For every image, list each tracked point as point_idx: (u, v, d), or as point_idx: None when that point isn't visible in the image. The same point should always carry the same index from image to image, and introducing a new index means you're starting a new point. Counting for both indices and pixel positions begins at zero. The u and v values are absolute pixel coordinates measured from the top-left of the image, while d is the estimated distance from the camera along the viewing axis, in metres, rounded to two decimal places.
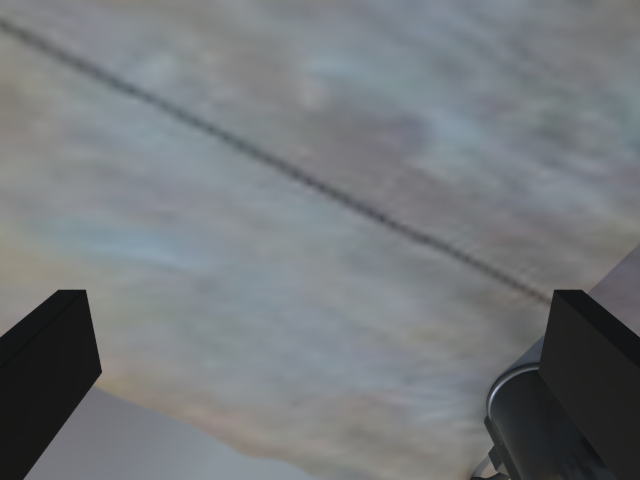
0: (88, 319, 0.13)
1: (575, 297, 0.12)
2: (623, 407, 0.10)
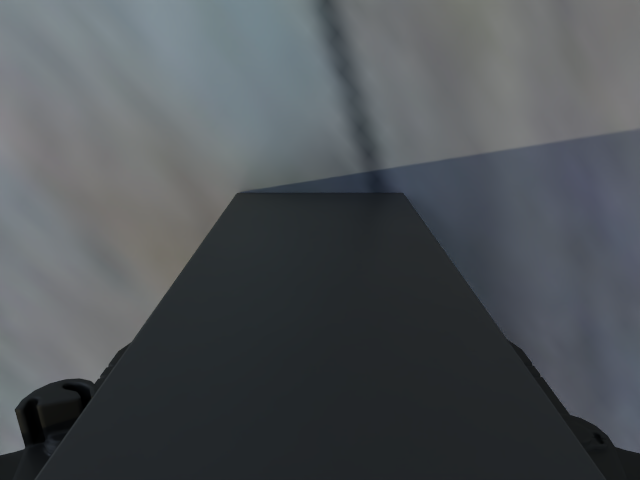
0: None
1: None
2: None
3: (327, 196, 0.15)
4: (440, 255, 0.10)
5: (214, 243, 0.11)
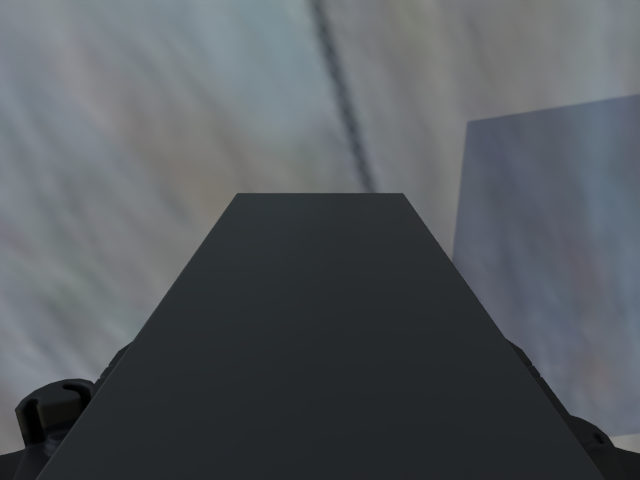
0: None
1: None
2: None
3: (327, 196, 0.15)
4: (440, 255, 0.10)
5: (214, 243, 0.11)
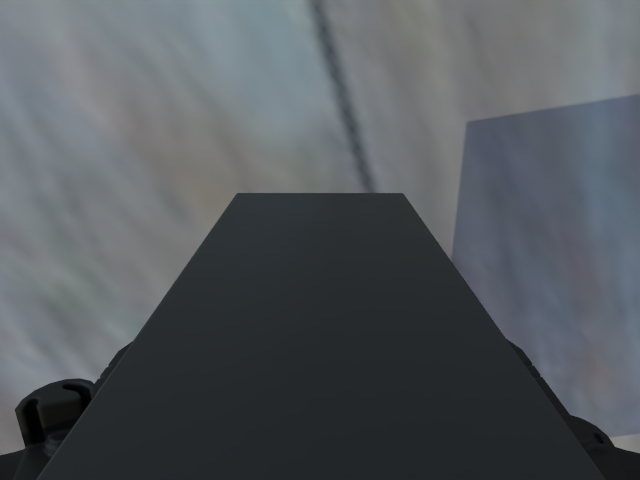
0: None
1: None
2: None
3: (327, 196, 0.15)
4: (440, 255, 0.10)
5: (214, 243, 0.11)
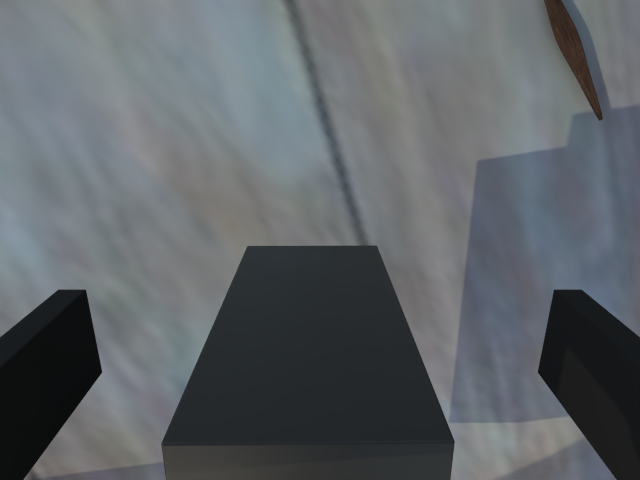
0: (88, 319, 0.13)
1: (575, 297, 0.12)
2: (623, 407, 0.10)
3: (317, 249, 0.20)
4: (394, 303, 0.15)
5: (236, 294, 0.15)
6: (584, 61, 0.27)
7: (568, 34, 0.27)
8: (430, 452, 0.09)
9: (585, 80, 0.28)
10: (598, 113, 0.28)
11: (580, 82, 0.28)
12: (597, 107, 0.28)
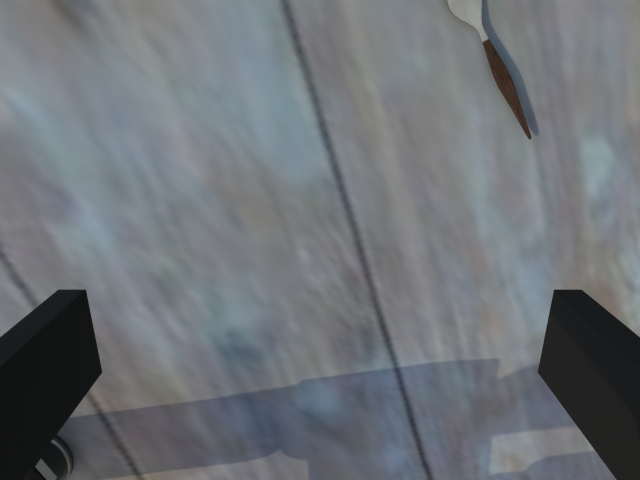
0: (88, 319, 0.13)
1: (575, 297, 0.12)
2: (623, 407, 0.10)
3: None
4: None
5: None
6: (516, 96, 0.37)
7: (503, 78, 0.37)
8: None
9: (517, 110, 0.38)
10: (527, 134, 0.38)
11: (514, 111, 0.38)
12: (527, 130, 0.38)
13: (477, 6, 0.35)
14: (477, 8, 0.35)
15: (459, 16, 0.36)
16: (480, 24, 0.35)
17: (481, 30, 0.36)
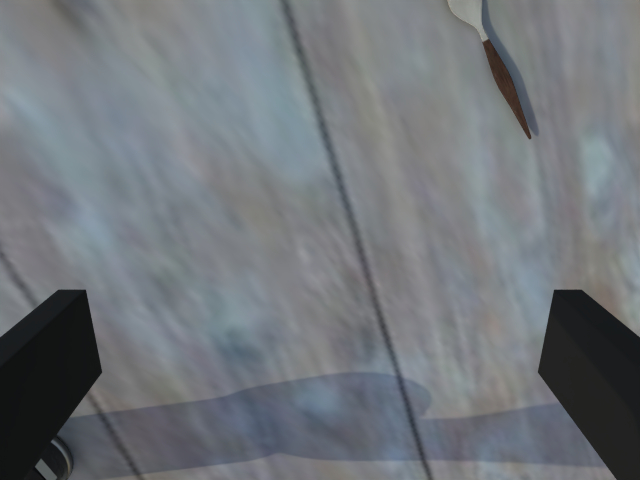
0: (88, 319, 0.13)
1: (575, 297, 0.12)
2: (623, 407, 0.10)
3: None
4: None
5: None
6: (516, 96, 0.37)
7: (503, 78, 0.37)
8: None
9: (517, 110, 0.38)
10: (527, 134, 0.38)
11: (514, 111, 0.38)
12: (527, 130, 0.38)
13: (477, 6, 0.35)
14: (477, 8, 0.35)
15: (459, 16, 0.36)
16: (480, 24, 0.35)
17: (481, 30, 0.36)
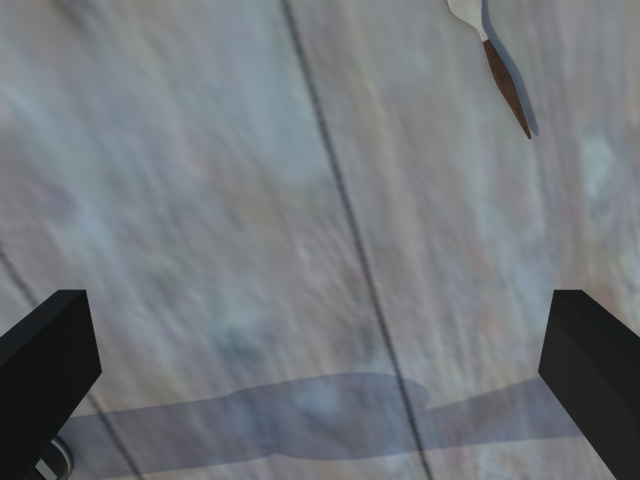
0: (88, 319, 0.13)
1: (575, 297, 0.12)
2: (623, 407, 0.10)
3: None
4: None
5: None
6: (516, 96, 0.37)
7: (503, 78, 0.37)
8: None
9: (517, 110, 0.38)
10: (527, 134, 0.38)
11: (514, 111, 0.38)
12: (527, 130, 0.38)
13: (477, 6, 0.35)
14: (477, 8, 0.35)
15: (459, 16, 0.36)
16: (480, 24, 0.35)
17: (481, 30, 0.36)
